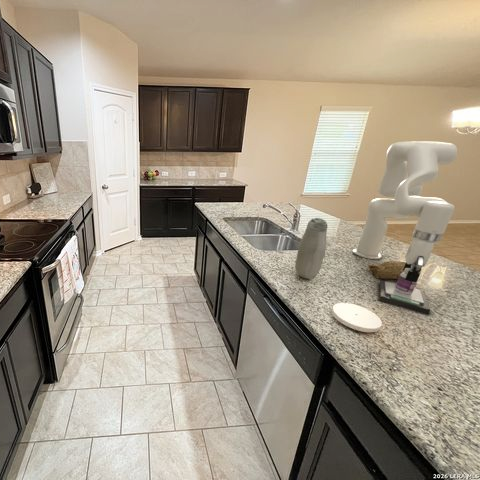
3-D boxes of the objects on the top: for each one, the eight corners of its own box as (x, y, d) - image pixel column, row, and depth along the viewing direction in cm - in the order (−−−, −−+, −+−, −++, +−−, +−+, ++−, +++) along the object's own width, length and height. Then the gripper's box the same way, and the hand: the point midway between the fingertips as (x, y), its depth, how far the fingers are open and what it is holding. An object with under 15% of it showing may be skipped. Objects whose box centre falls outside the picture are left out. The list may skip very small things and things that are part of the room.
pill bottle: (410, 296, 98) (420, 274, 94) (393, 290, 102) (401, 269, 98) (412, 291, 101) (422, 270, 98) (395, 286, 105) (403, 265, 102)
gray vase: (320, 282, 112) (337, 223, 102) (296, 280, 114) (310, 221, 104) (313, 272, 121) (327, 216, 111) (290, 270, 123) (302, 215, 113)
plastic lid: (366, 311, 94) (368, 305, 93) (389, 338, 81) (391, 331, 80) (324, 306, 96) (326, 300, 96) (340, 331, 84) (342, 324, 83)
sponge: (381, 284, 114) (431, 279, 110) (380, 268, 112) (431, 262, 109) (362, 275, 126) (407, 270, 123) (361, 260, 125) (406, 254, 122)
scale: (378, 284, 112) (380, 278, 111) (422, 295, 103) (424, 289, 102) (379, 300, 100) (381, 294, 99) (428, 315, 92) (431, 308, 91)
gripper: (410, 227, 101) (395, 265, 108) (415, 239, 89) (398, 281, 95) (437, 231, 97) (419, 270, 103) (446, 245, 84) (425, 288, 91)
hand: (409, 275), depth 99 cm, fingers open, 9 cm apart
